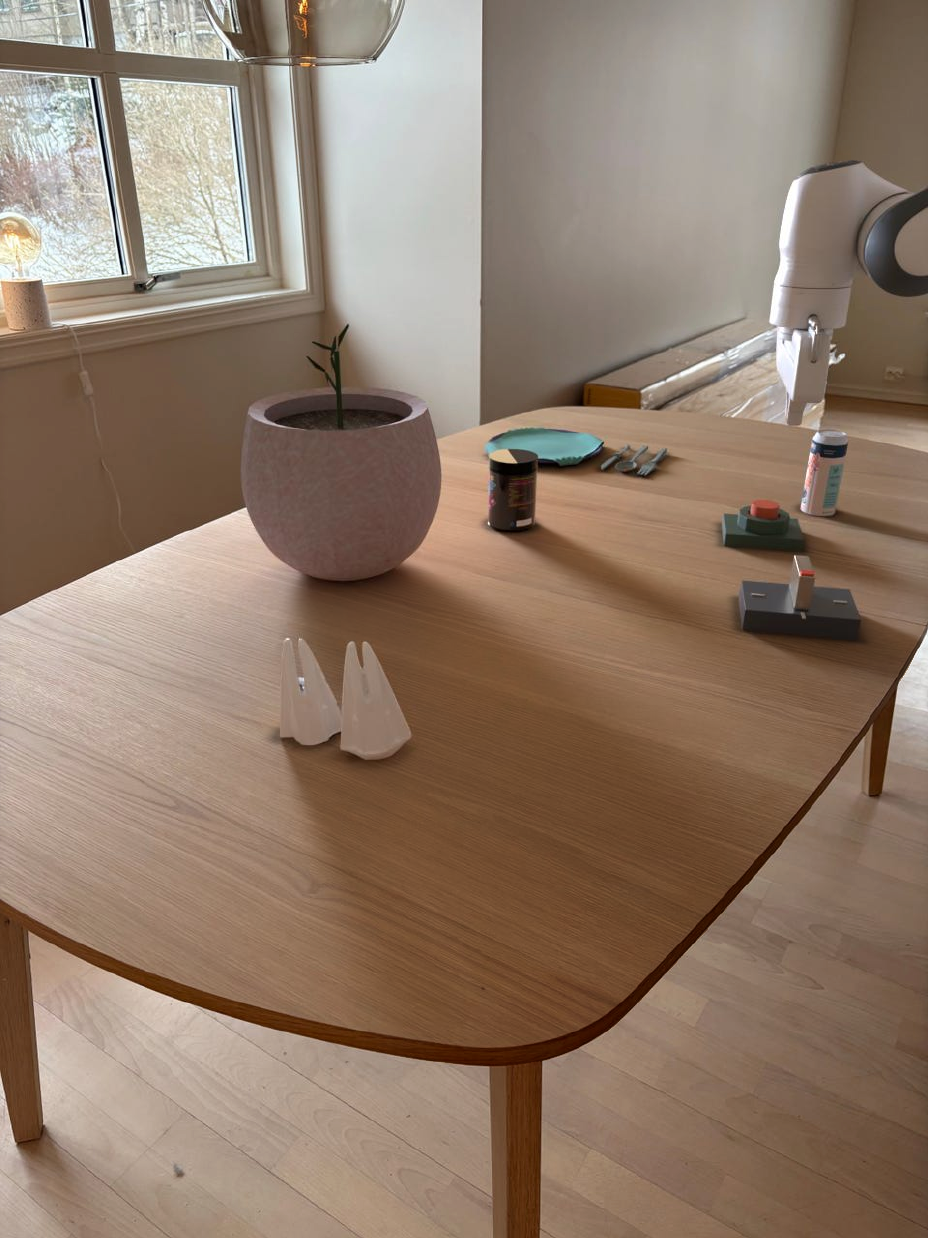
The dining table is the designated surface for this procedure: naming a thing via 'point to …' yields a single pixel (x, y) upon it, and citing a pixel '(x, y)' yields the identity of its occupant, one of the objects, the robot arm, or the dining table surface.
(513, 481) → the supplement container
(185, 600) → the dining table surface
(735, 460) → the dining table surface
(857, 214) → the robot arm
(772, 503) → the button
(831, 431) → the beer can
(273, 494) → the plant pot
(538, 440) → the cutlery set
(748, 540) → the button block
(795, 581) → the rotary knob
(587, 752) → the dining table surface
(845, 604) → the panel
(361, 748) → the shaker set
